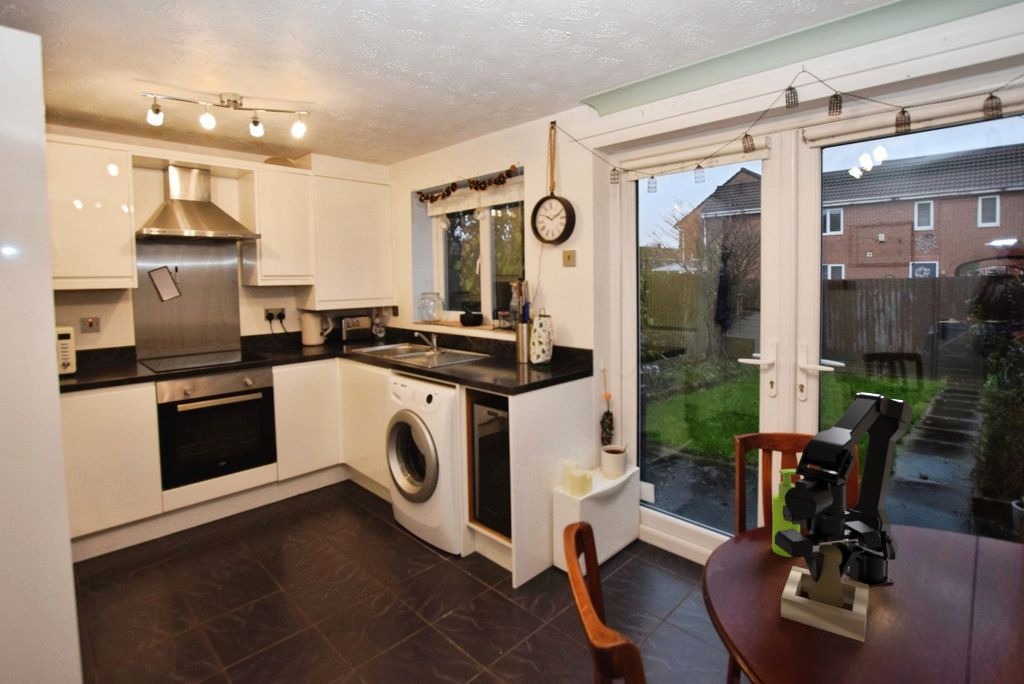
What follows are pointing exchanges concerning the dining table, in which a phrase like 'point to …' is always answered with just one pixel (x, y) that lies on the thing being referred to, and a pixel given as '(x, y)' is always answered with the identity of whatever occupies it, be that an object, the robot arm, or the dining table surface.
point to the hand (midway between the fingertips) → (826, 579)
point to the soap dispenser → (778, 504)
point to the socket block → (826, 606)
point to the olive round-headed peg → (828, 578)
